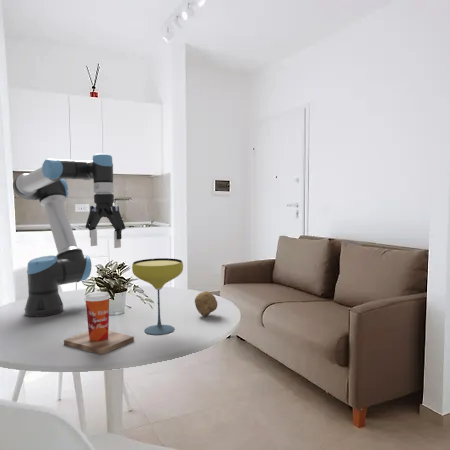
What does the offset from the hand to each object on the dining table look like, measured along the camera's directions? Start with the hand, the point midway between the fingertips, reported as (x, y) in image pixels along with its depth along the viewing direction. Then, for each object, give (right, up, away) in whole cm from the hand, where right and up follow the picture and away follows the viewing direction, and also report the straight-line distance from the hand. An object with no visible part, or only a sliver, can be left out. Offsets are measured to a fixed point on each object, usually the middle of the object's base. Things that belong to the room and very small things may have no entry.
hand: (105, 246), depth 164 cm
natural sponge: (+40, -28, +2) cm, 49 cm away
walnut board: (+6, -31, -27) cm, 41 cm away
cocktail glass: (+24, -30, -15) cm, 41 cm away
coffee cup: (+6, -29, -27) cm, 40 cm away
